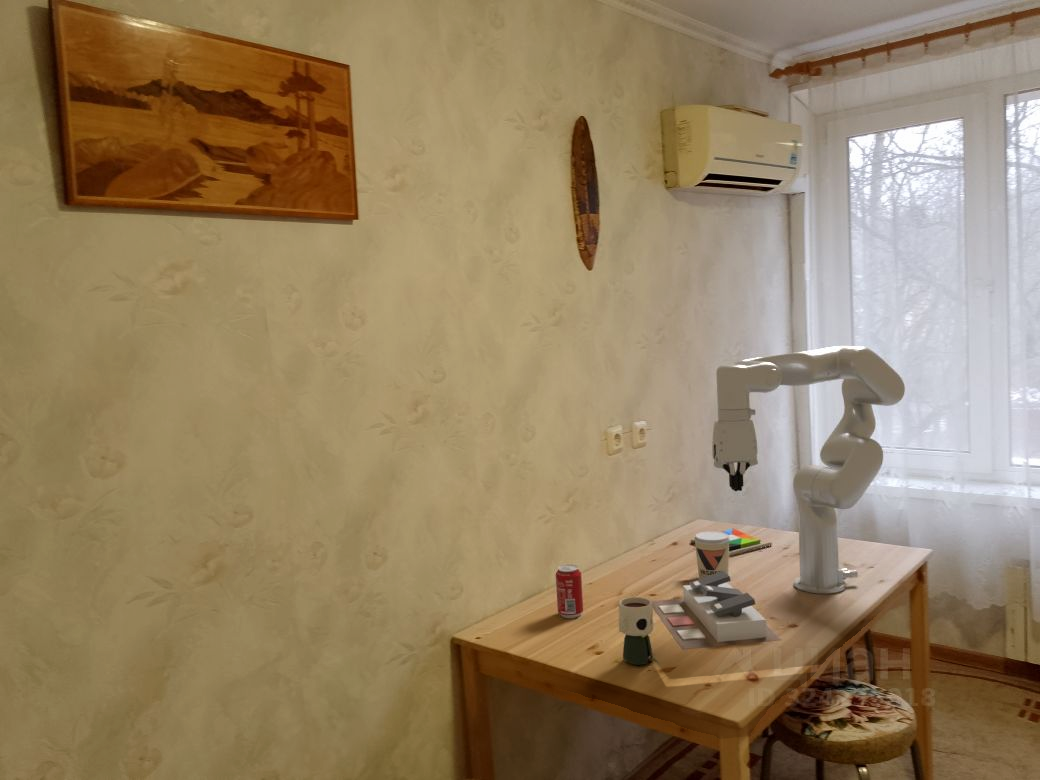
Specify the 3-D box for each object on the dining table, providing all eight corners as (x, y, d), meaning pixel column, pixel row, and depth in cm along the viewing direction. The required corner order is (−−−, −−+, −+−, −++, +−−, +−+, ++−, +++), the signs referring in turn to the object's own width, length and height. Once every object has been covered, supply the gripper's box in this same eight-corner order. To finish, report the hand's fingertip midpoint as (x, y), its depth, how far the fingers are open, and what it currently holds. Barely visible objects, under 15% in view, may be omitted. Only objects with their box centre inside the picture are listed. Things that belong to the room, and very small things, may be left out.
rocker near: (750, 603, 187) (747, 592, 187) (757, 610, 183) (754, 598, 182) (712, 615, 186) (709, 604, 186) (719, 622, 182) (716, 611, 182)
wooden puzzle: (730, 559, 242) (730, 547, 242) (688, 544, 259) (688, 534, 258) (774, 547, 250) (773, 536, 250) (730, 535, 267) (730, 524, 266)
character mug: (635, 674, 169) (632, 613, 168) (608, 665, 174) (605, 605, 173) (667, 657, 176) (664, 598, 175) (640, 648, 181) (638, 591, 180)
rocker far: (726, 580, 203) (723, 570, 203) (732, 586, 198) (729, 575, 198) (692, 592, 202) (689, 582, 202) (697, 598, 198) (694, 587, 198)
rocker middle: (736, 600, 195) (737, 588, 195) (742, 606, 191) (744, 594, 190) (699, 595, 194) (701, 584, 194) (705, 602, 190) (707, 590, 190)
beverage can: (586, 610, 206) (583, 564, 205) (579, 620, 200) (577, 572, 199) (562, 609, 208) (559, 563, 207) (554, 618, 202) (552, 571, 201)
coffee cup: (693, 582, 222) (691, 539, 221) (699, 572, 230) (697, 530, 229) (728, 585, 218) (726, 541, 217) (733, 574, 227) (731, 531, 226)
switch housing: (726, 597, 206) (726, 581, 206) (766, 637, 180) (766, 619, 180) (683, 601, 205) (683, 585, 205) (717, 641, 179) (717, 624, 179)
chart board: (733, 598, 208) (733, 592, 208) (781, 645, 179) (781, 638, 179) (648, 606, 207) (648, 600, 207) (682, 654, 177) (682, 647, 177)
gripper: (758, 411, 203) (760, 484, 205) (699, 415, 202) (702, 489, 204) (769, 415, 196) (772, 490, 198) (708, 419, 195) (711, 495, 196)
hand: (736, 489), depth 201 cm, fingers closed
